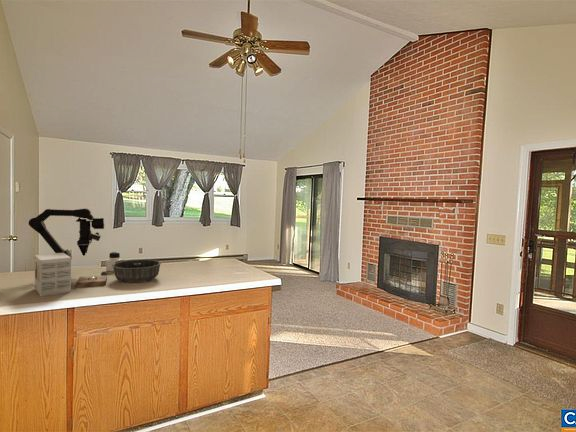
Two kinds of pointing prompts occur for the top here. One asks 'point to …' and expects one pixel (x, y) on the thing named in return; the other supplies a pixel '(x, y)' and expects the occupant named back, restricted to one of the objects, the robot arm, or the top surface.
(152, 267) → the bundt pan
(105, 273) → the dark gray rubber ball
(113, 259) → the medicine bottle
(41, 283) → the supplement box
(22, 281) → the top surface
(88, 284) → the walnut board
